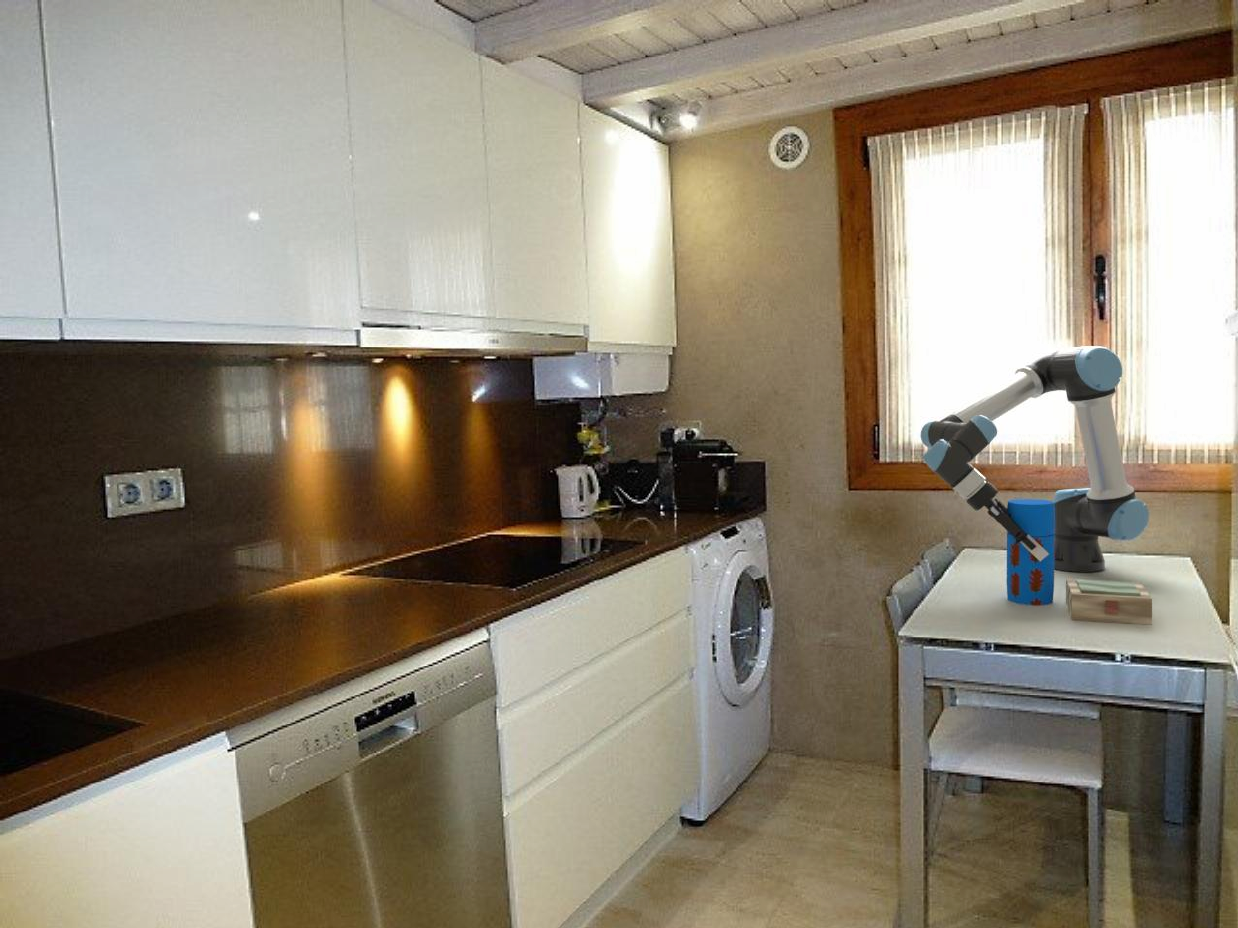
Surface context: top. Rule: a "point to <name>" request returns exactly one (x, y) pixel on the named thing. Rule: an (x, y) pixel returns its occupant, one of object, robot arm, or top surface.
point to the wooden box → (1108, 601)
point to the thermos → (1024, 570)
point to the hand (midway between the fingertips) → (1043, 553)
